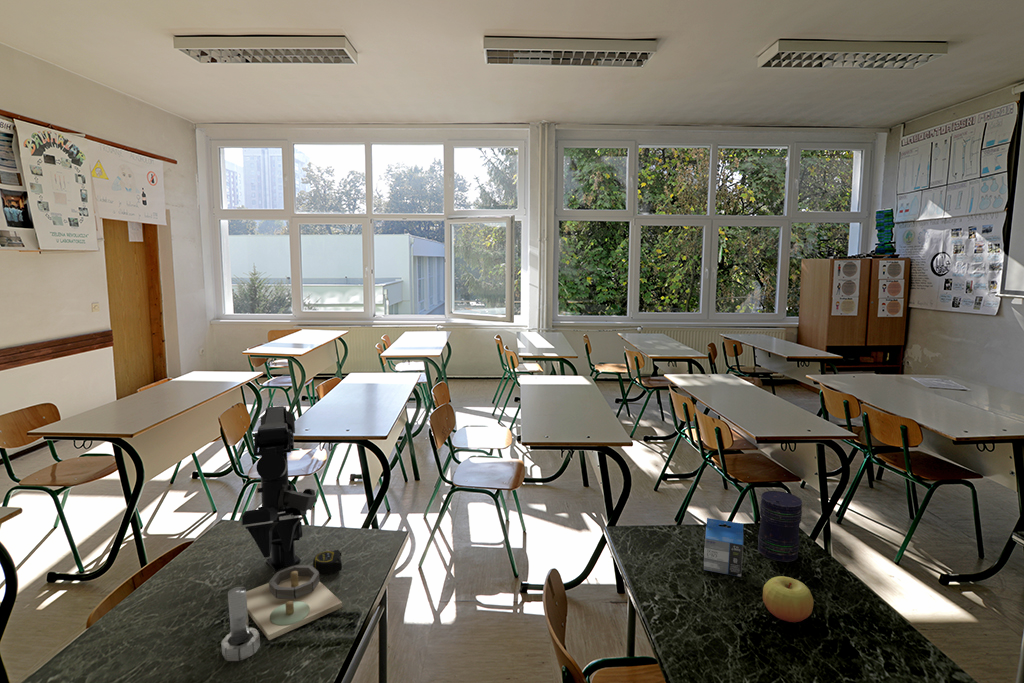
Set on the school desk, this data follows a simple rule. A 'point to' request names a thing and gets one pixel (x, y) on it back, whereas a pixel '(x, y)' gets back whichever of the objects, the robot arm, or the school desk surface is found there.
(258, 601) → the gear board
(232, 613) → the gear
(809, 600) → the apple
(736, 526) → the label tape box
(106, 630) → the school desk surface
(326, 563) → the tape measure
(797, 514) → the storage jar
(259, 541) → the robot arm
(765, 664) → the school desk surface
